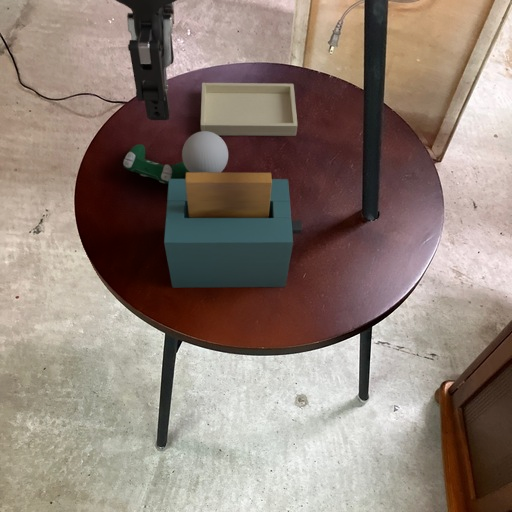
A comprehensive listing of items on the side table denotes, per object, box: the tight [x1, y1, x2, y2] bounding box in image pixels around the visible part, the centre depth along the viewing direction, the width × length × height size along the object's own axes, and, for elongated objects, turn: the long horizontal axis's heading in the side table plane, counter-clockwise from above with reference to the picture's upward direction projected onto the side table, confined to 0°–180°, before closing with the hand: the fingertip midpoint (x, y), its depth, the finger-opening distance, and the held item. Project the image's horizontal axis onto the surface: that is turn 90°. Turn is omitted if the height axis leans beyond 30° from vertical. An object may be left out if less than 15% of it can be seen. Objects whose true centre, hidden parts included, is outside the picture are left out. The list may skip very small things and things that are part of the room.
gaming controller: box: [122, 143, 189, 185], centre depth 76 cm, size 9×4×6 cm
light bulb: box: [181, 130, 229, 173], centre depth 72 cm, size 6×6×10 cm
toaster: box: [163, 178, 303, 289], centre depth 66 cm, size 16×9×10 cm, turn 92°
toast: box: [185, 172, 273, 218], centre depth 61 cm, size 9×1×10 cm, turn 92°
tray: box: [200, 82, 298, 137], centre depth 84 cm, size 14×9×2 cm, turn 92°
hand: (161, 89), depth 58 cm, fingers open, 8 cm apart
